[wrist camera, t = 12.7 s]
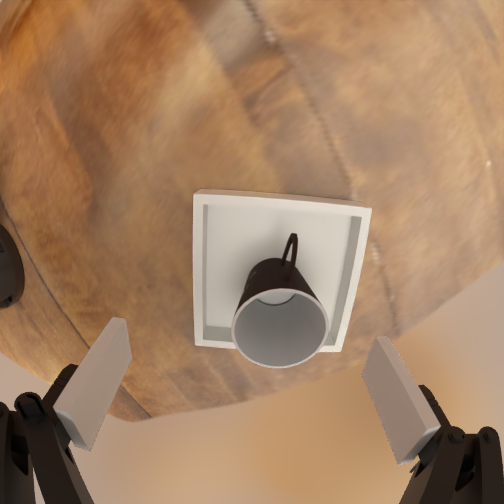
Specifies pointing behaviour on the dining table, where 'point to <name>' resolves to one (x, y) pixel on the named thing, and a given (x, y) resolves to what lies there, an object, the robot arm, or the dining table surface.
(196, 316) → the white tray
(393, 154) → the dining table surface
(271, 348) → the coffee mug
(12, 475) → the robot arm
